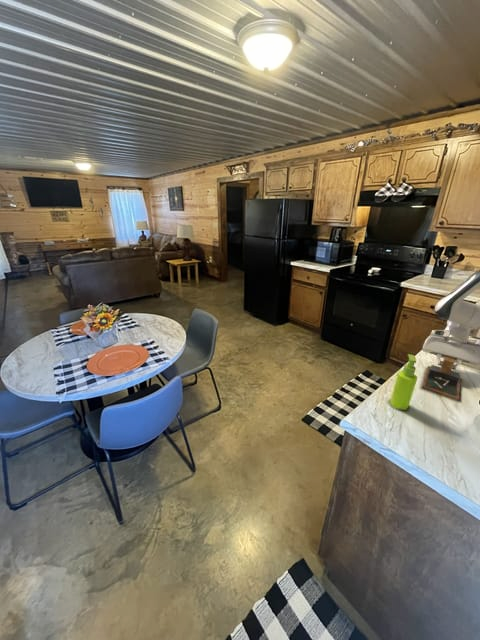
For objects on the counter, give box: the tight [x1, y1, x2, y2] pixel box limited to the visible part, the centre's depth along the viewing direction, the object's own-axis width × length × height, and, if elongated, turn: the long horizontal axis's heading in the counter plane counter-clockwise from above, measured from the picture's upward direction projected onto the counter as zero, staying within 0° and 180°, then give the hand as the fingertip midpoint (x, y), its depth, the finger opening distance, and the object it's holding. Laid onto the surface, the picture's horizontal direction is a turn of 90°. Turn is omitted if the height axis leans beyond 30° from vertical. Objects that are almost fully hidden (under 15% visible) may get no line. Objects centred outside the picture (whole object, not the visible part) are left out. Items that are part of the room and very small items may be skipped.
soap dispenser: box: [389, 353, 418, 411], centre depth 95 cm, size 6×7×20 cm
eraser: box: [429, 356, 461, 383], centre depth 112 cm, size 10×5×8 cm, turn 51°
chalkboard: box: [421, 365, 461, 401], centre depth 111 cm, size 20×12×1 cm, turn 141°
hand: (446, 367), depth 112 cm, fingers closed on eraser, 3 cm apart
